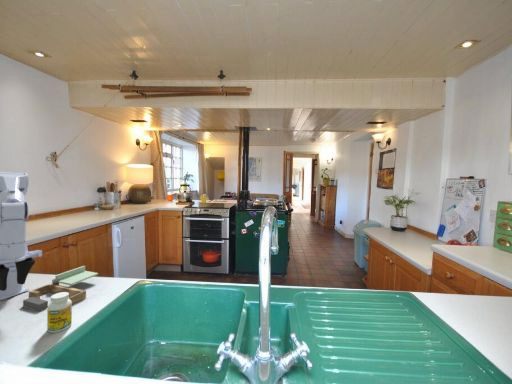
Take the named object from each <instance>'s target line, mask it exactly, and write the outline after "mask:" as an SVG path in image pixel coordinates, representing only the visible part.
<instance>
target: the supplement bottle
mask: <svg viewBox="0 0 512 384" xmlns="http://www.w3.org/2000/svg"><path fill="white" fill-rule="evenodd" d="M69 297H70V296H69V293H68V292H60V293H54V294H52V295H51V296H50V303H48V308H46V309H47V311H46V312H47V317H46V318H47V319H46V321H47V322H46V323H47V324H46V326H47V327H46V329H47V332H48V333H52V334H55V333H60V332H64V331H65V330H68V329H69V328H70V327H71V325H72V317H73V316H72V315H73V313H72V312H73V310H72V309H73V304H72V301H71V300H70V299H68V298H69Z"/></svg>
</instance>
